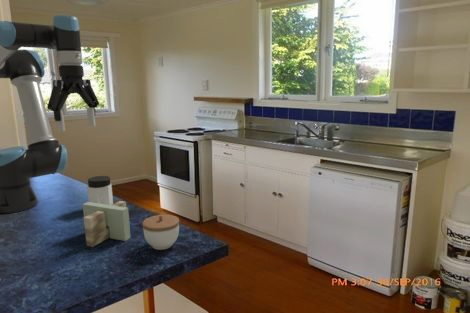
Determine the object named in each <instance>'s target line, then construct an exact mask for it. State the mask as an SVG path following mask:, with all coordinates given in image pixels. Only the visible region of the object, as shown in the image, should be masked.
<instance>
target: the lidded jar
mask: <svg viewBox="0 0 470 313" xmlns="http://www.w3.org/2000/svg"><path fill="white" fill-rule="evenodd" d="M142 229H143V230H142V231H143V236H144V239H145V241H146V243H147V244H148V245H150V247H152V249H154V250H158V251H159V250H160V251H162V250H167V249H170V248H171V247H173V245H174V244H175V242H176V241H178V240H177V239H178V237H179V232H180V219H179V217H178V216H175V215H172V214H157V215H153V216H152V215H151V216H150V217H147V218H145V219H144V220H143V221H142Z"/></svg>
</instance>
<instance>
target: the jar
mask: <svg viewBox="0 0 470 313" xmlns="http://www.w3.org/2000/svg"><path fill="white" fill-rule="evenodd" d="M87 198H88V199H87V200H88V202H93V203H99V204H106V205H112V204H114V198H113V186H112V183H111V177H110V176H108V175H98V176H96V175H95V176H91V177H89V178H88V179H87Z"/></svg>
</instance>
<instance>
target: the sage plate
mask: <svg viewBox="0 0 470 313" xmlns="http://www.w3.org/2000/svg"><path fill="white" fill-rule="evenodd" d="M82 211H83V218H84V217H86V216H88V215H90V214H92V213H94V212H97V211H103V212H105V222H106V226H109V232H110V237H109V238H110V239H112V240H113V239H114V240H119V241H125V242H126V241H127V240H129V239H131V229H130V226H131V224H130V216H129V212H130V211H129V207H127V206H126V207H120V206H113V205H106V204H99V203H93V202H89V201H87V202H85V203H83V204H82Z"/></svg>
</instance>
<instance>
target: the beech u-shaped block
mask: <svg viewBox="0 0 470 313" xmlns="http://www.w3.org/2000/svg"><path fill="white" fill-rule="evenodd" d="M112 205H113V206H120V207H126V208H127V202H126V201H125V200H124V201H123V200H118V201H116V202H113V204H112ZM83 224H84V234H85V243H86V246H88V247H92V248H94V247H95V246H97V245H98V244H100V243H102V242H104V241H106V240H108V239H109V238H110V232H109V226H106V222H105V212H103V211H97V212H94V213H92V214H90V215H88V216H86V217H84V216H83Z"/></svg>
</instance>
